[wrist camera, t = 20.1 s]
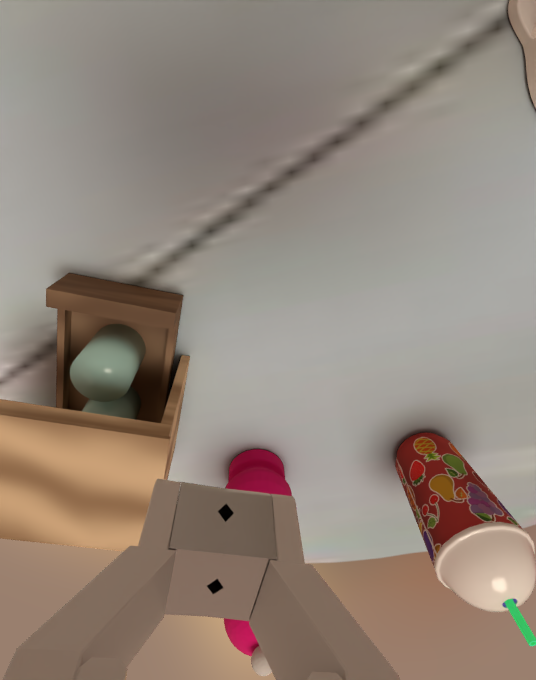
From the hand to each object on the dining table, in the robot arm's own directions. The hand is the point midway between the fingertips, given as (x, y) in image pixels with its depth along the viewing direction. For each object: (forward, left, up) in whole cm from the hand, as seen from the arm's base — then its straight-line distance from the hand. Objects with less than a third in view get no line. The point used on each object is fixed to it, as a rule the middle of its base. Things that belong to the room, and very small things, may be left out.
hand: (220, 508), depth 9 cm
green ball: (+12, -9, -28) cm, 32 cm away
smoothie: (+19, +25, -29) cm, 43 cm away
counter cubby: (+18, -9, -29) cm, 35 cm away
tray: (+14, -9, -29) cm, 34 cm away
